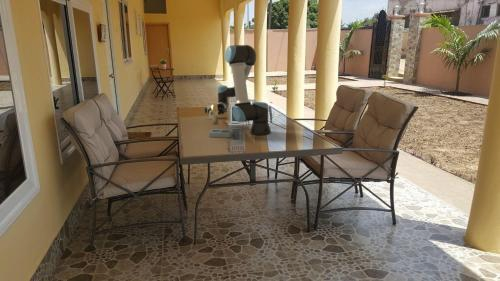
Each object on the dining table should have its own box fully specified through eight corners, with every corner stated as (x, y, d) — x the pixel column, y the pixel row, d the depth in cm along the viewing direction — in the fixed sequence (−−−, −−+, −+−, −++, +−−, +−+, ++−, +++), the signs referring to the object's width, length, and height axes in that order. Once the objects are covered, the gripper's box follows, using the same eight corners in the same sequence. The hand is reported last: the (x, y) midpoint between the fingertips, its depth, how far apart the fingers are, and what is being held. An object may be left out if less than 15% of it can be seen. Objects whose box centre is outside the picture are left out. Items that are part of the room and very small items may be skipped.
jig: (232, 134, 273) (232, 129, 272) (229, 137, 263) (229, 132, 262) (212, 133, 275) (212, 129, 274) (209, 137, 265) (208, 132, 264)
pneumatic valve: (218, 118, 328) (217, 105, 325) (205, 119, 326) (204, 106, 323) (217, 117, 333) (217, 104, 330) (204, 118, 331) (204, 105, 328)
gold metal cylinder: (218, 123, 269) (218, 104, 266) (217, 124, 265) (216, 105, 261) (213, 123, 270) (212, 104, 266) (211, 124, 266) (210, 105, 262)
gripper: (231, 113, 282) (225, 119, 260) (209, 112, 285) (201, 119, 262) (231, 103, 280) (224, 109, 258) (209, 103, 283) (200, 108, 260)
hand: (212, 114), depth 260 cm, fingers closed on gold metal cylinder, 4 cm apart
